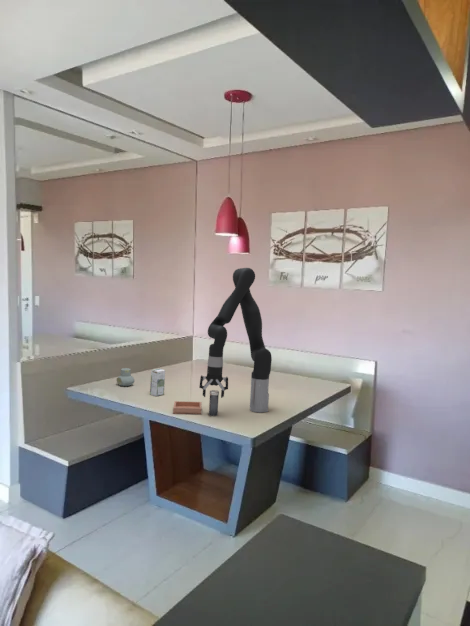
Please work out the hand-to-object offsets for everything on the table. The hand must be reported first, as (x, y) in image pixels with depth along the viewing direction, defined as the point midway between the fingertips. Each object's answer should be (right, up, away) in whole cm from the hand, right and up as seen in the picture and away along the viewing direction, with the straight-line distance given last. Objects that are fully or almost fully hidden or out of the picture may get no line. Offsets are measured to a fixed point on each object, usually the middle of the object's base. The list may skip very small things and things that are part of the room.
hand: (213, 397), depth 233 cm
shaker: (0, -9, +1) cm, 9 cm away
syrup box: (-33, -5, +33) cm, 47 cm away
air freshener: (-56, -2, +51) cm, 76 cm away
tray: (-13, -8, +6) cm, 16 cm away
